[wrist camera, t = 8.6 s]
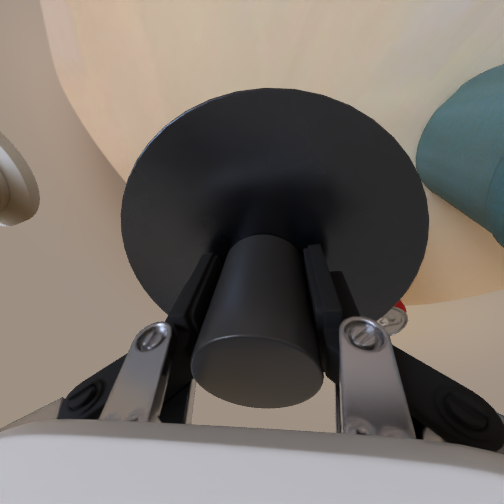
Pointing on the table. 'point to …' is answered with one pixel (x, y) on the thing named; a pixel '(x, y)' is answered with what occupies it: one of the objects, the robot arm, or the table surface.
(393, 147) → the lid
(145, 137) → the table surface
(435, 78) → the table surface
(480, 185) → the flower pot
